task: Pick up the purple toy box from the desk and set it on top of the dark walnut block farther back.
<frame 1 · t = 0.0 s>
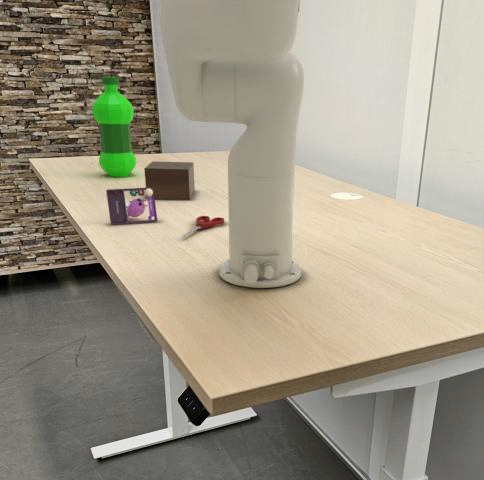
hand: (263, 16, 95), 37 cm above the table, tool pointing down, fingers open, 9 cm apart
purple toy box: (132, 221, 116), on the table
walnut block: (171, 194, 138), on the table
plastic bottle: (119, 175, 159), on the table
scissors: (199, 230, 111), on the table
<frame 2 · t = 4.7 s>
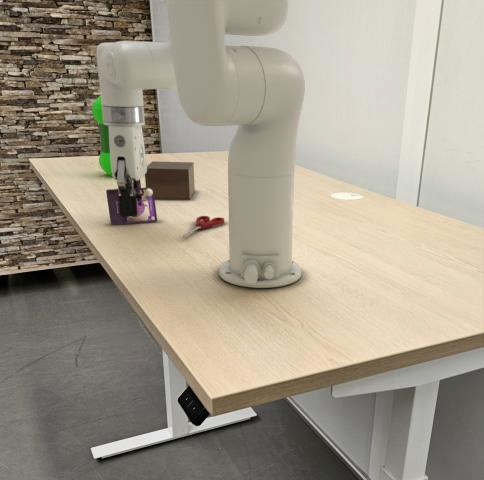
hand: (131, 211, 115), 2 cm above the table, tool pointing down, fingers closed on purple toy box, 4 cm apart
purple toy box: (132, 221, 116), on the table, touching gripper
everything else where it was.
when the fingers open (9 cm above the table, at t = 11.7 s): purple toy box stays where it is, resting on walnut block.
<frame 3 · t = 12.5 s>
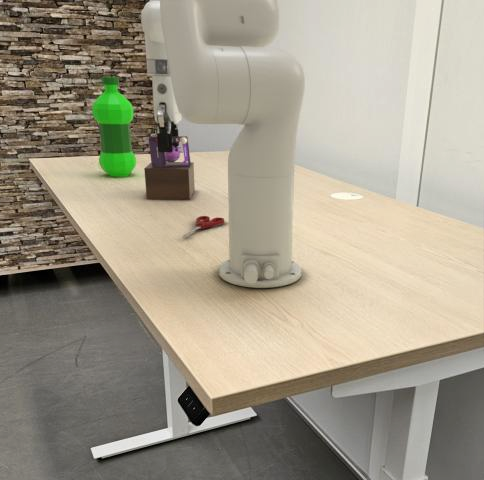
hand: (168, 149, 134), 11 cm above the table, tool pointing down, fingers open, 9 cm apart
purple toy box: (169, 166, 135), point 7 cm above the table, touching walnut block
everything else where it was.
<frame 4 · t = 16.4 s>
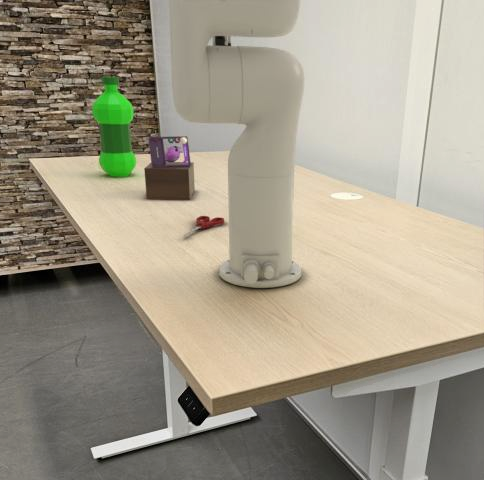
hand: (222, 69, 113), 28 cm above the table, tool pointing down, fingers open, 9 cm apart
nothing on the table moved.
at the end: purple toy box inside the target area on the walnut block (0.2 cm from its centre), point 6.8 cm above the walnut block's base; purple toy box tilted 0°; the gripper is holding nothing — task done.
